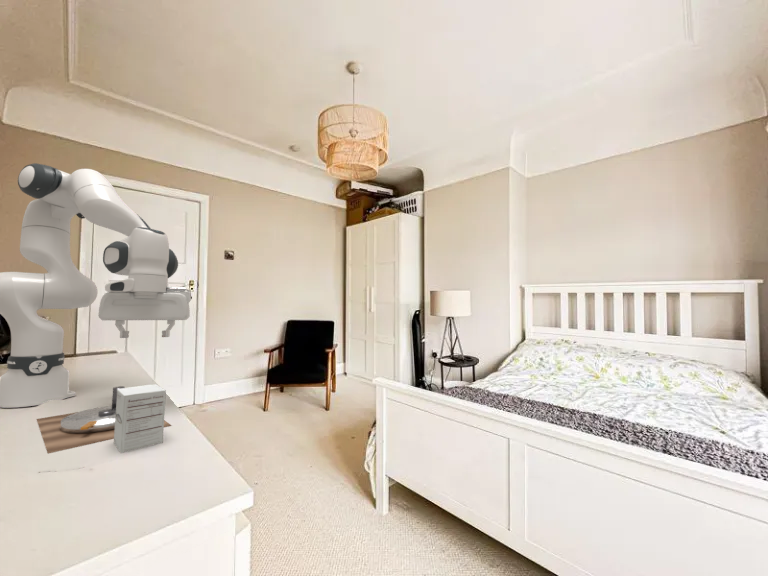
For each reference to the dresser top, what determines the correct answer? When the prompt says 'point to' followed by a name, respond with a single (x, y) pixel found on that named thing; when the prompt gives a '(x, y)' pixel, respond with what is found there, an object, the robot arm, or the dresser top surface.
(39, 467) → the dresser top surface
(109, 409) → the dial
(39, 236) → the robot arm
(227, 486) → the dresser top surface
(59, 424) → the base board
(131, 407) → the supplement box
